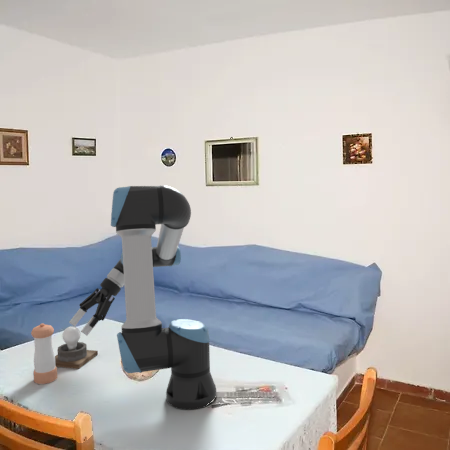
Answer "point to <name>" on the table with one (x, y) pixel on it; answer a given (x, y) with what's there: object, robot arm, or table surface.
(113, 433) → the table surface
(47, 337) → the salt shaker
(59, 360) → the grey bowl on board
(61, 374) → the table surface
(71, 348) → the lightbulb
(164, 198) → the robot arm
